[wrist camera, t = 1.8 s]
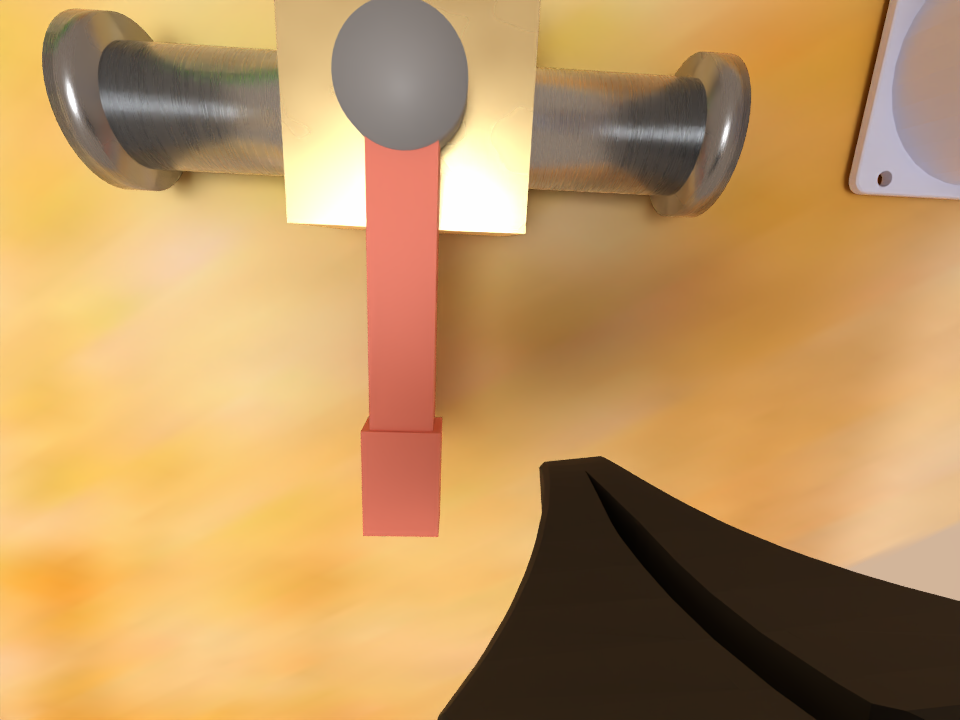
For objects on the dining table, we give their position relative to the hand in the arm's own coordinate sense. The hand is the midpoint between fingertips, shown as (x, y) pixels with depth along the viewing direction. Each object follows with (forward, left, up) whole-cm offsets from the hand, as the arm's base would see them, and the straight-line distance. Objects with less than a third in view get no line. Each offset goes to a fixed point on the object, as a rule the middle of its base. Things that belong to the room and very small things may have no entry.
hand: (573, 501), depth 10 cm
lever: (+4, -4, -3) cm, 6 cm away
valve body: (+4, -9, -8) cm, 13 cm away
